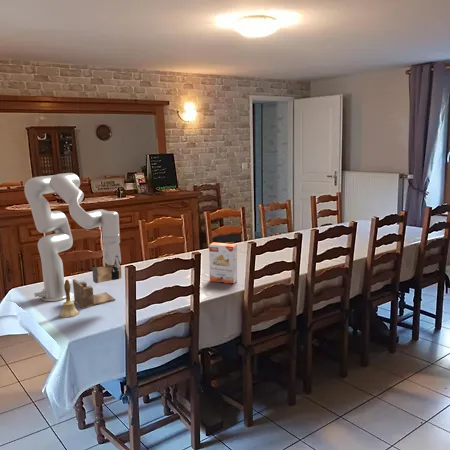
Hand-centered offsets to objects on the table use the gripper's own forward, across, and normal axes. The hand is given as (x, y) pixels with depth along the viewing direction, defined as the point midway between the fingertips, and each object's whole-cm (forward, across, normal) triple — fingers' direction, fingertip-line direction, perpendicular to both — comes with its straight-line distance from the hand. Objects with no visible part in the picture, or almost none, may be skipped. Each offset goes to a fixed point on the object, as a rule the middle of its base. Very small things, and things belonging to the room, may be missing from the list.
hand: (113, 277), depth 206 cm
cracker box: (+15, -2, +62) cm, 64 cm away
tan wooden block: (0, 0, -3) cm, 3 cm away
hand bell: (+15, -7, -19) cm, 25 cm away
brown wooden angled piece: (+15, -17, -4) cm, 23 cm away
